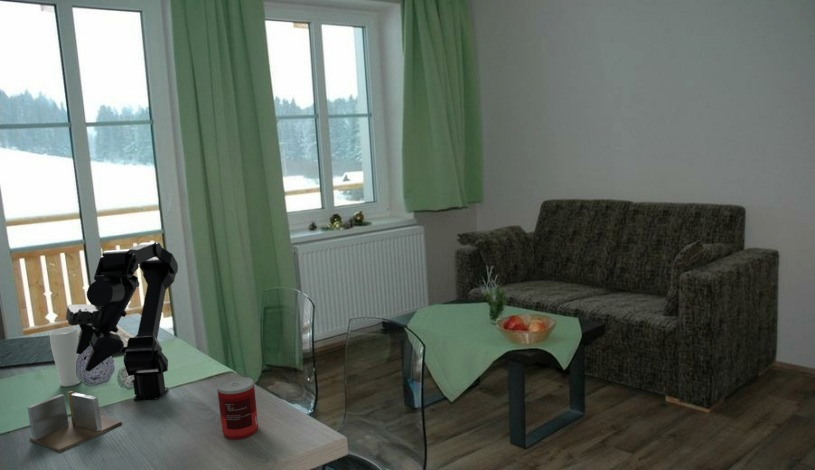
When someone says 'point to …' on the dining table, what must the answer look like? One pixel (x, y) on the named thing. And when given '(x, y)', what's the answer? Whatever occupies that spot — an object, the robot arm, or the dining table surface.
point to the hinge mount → (61, 424)
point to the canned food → (238, 407)
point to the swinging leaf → (86, 411)
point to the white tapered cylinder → (65, 354)
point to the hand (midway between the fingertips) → (82, 362)
